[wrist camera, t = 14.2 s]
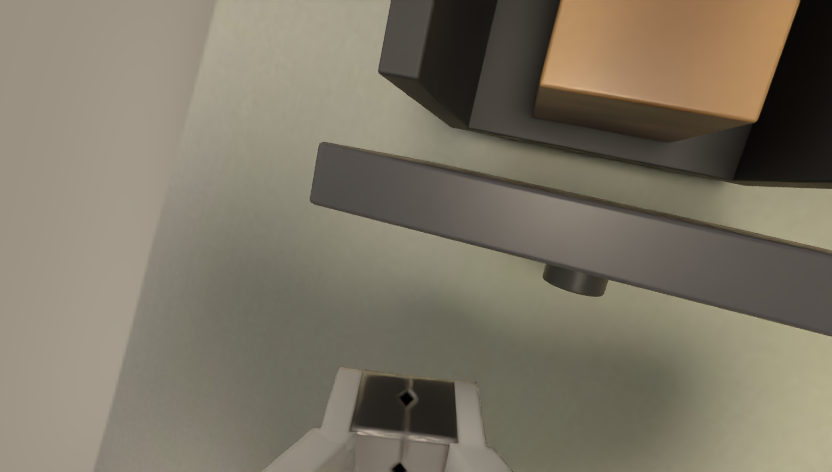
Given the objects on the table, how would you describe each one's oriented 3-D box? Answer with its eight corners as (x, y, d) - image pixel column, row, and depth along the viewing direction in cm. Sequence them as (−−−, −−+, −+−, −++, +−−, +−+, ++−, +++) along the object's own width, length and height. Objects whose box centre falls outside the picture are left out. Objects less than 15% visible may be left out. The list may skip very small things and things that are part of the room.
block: (531, 117, 14) (538, 86, 9) (567, -23, 13) (595, -137, 8) (671, 143, 13) (759, 123, 8) (719, -5, 12) (846, -122, 8)
